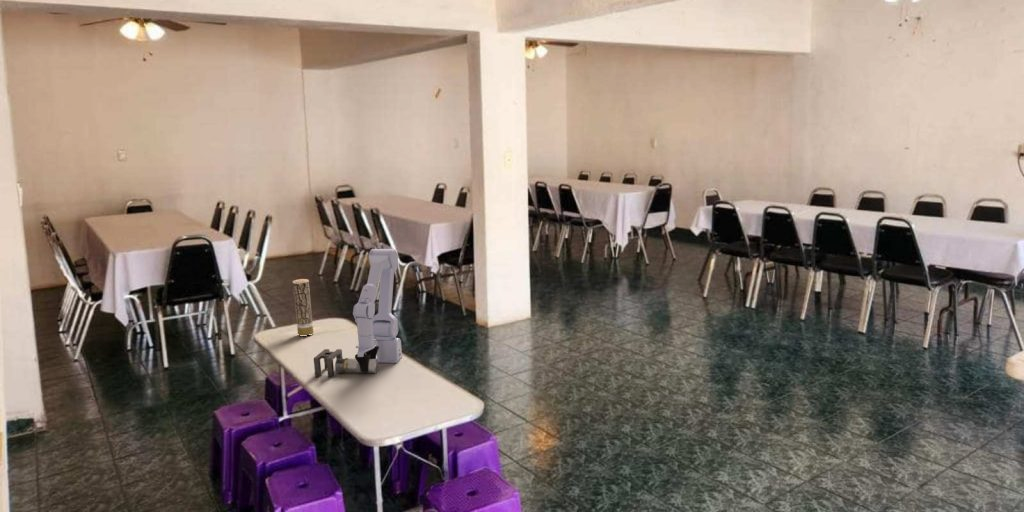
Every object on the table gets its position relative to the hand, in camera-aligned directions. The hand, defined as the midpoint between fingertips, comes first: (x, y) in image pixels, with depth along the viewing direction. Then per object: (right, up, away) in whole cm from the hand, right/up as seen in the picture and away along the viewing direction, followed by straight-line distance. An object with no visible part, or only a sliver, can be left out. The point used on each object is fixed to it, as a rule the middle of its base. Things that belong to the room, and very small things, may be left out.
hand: (368, 369), depth 268 cm
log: (-39, +7, +53) cm, 66 cm away
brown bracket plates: (-15, -2, +3) cm, 16 cm away
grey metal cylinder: (-4, -2, +1) cm, 5 cm away
